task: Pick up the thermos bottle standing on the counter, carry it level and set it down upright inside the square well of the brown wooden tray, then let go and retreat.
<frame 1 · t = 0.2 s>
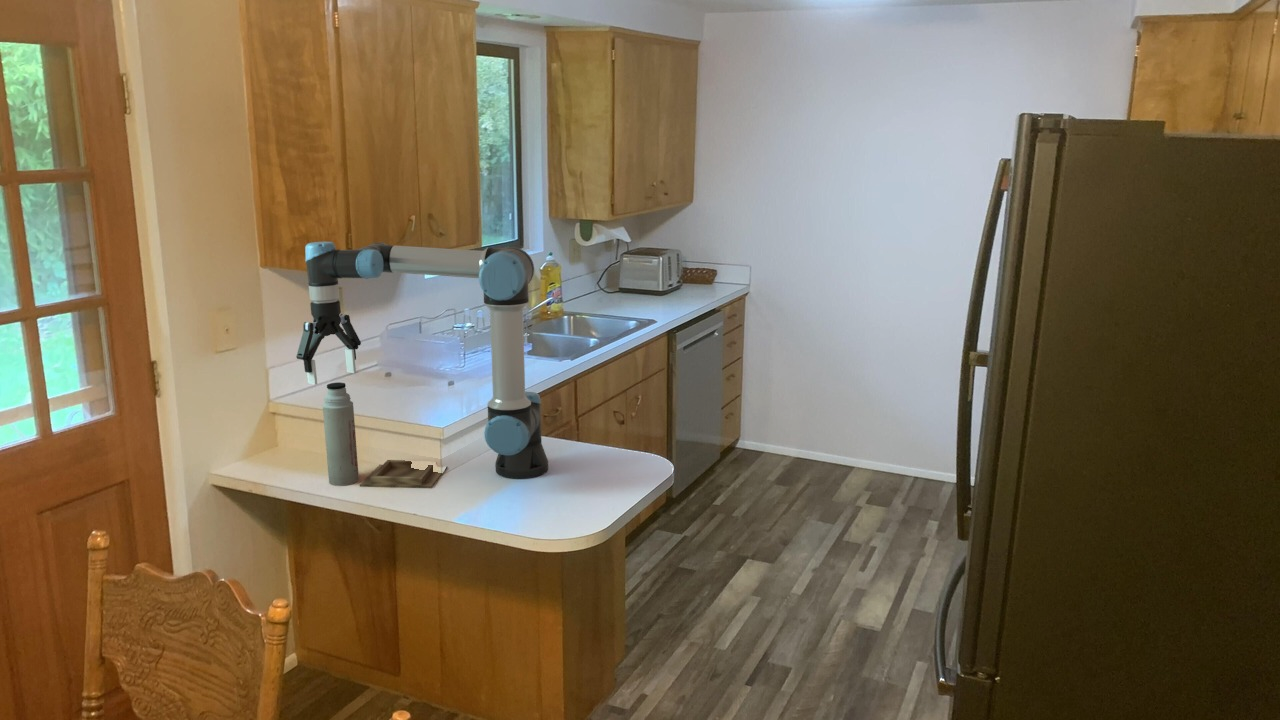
hand: (332, 378, 250), 30 cm above the table, fingers open, 13 cm apart
thermos bottle: (344, 481, 258), on the table
brown wooden tray: (404, 477, 260), on the table
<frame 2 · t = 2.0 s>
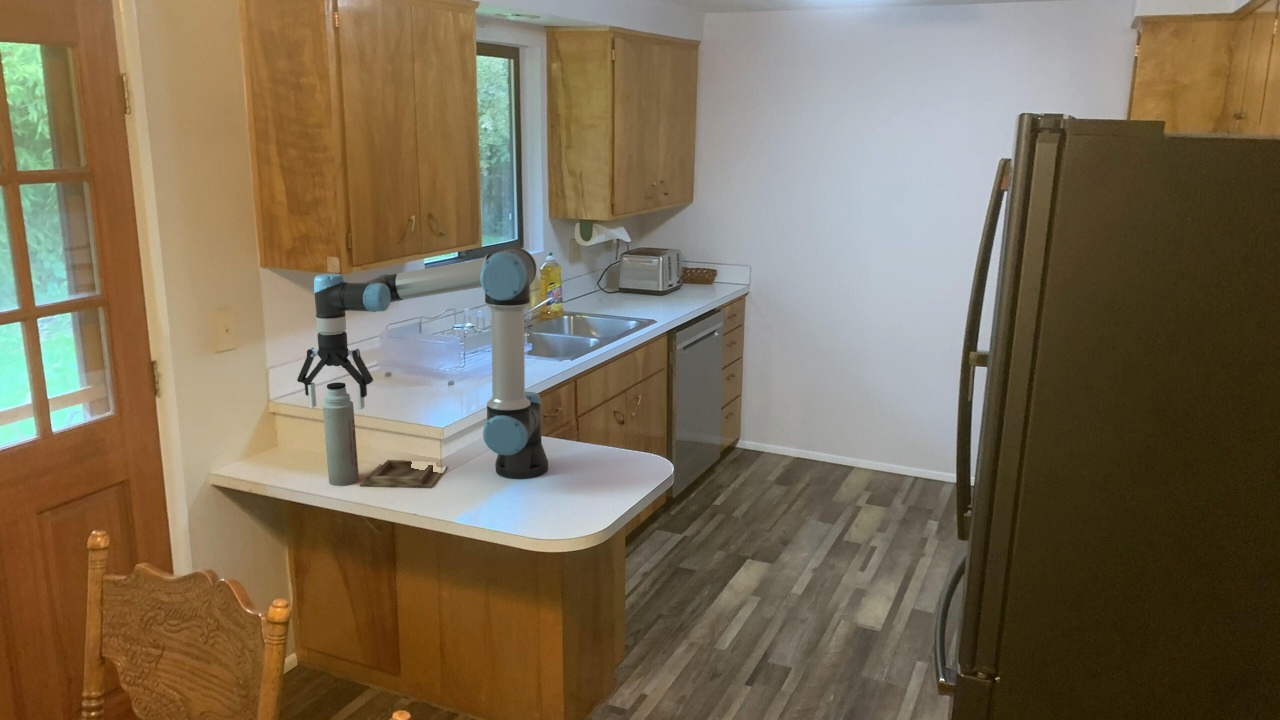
hand: (337, 407, 253), 21 cm above the table, fingers open, 13 cm apart
nothing on the table moved.
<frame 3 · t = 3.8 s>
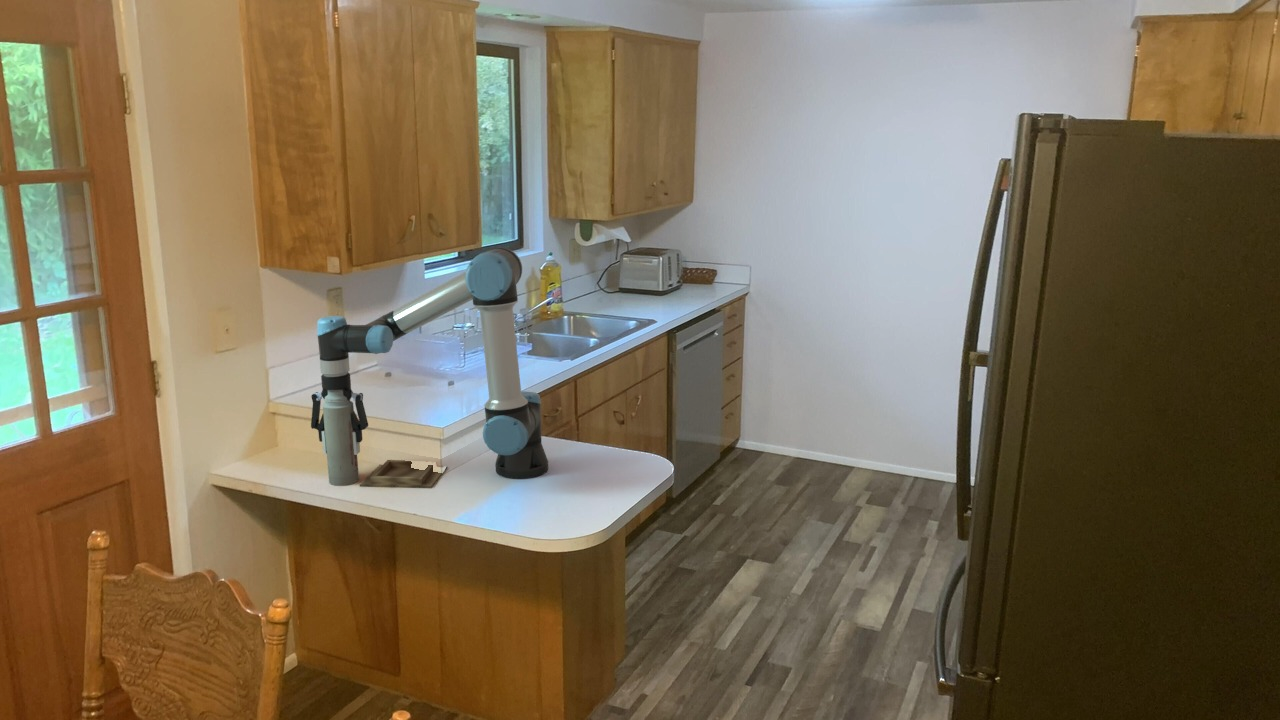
hand: (341, 452, 256), 8 cm above the table, fingers closed on thermos bottle, 8 cm apart
thermos bottle: (344, 481, 258), on the table, touching gripper
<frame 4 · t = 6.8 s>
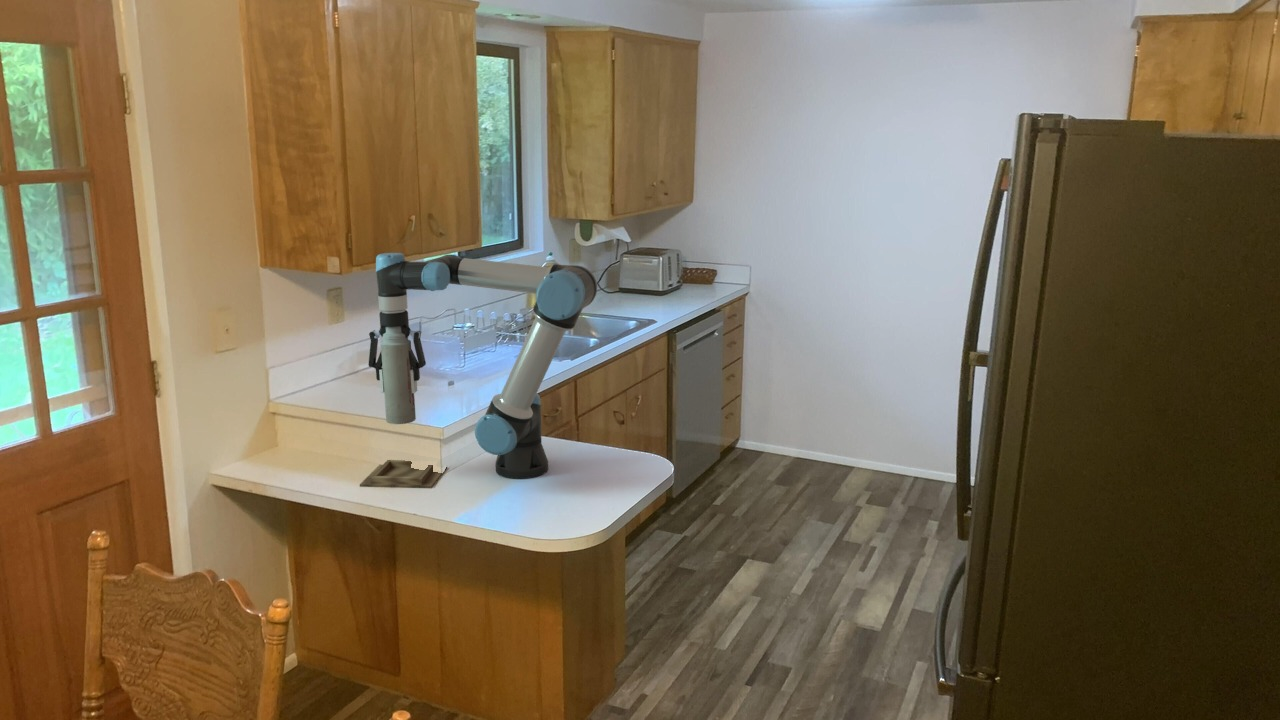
hand: (399, 391, 254), 25 cm above the table, fingers closed on thermos bottle, 8 cm apart
thermos bottle: (401, 420, 256), point 17 cm above the table, touching gripper
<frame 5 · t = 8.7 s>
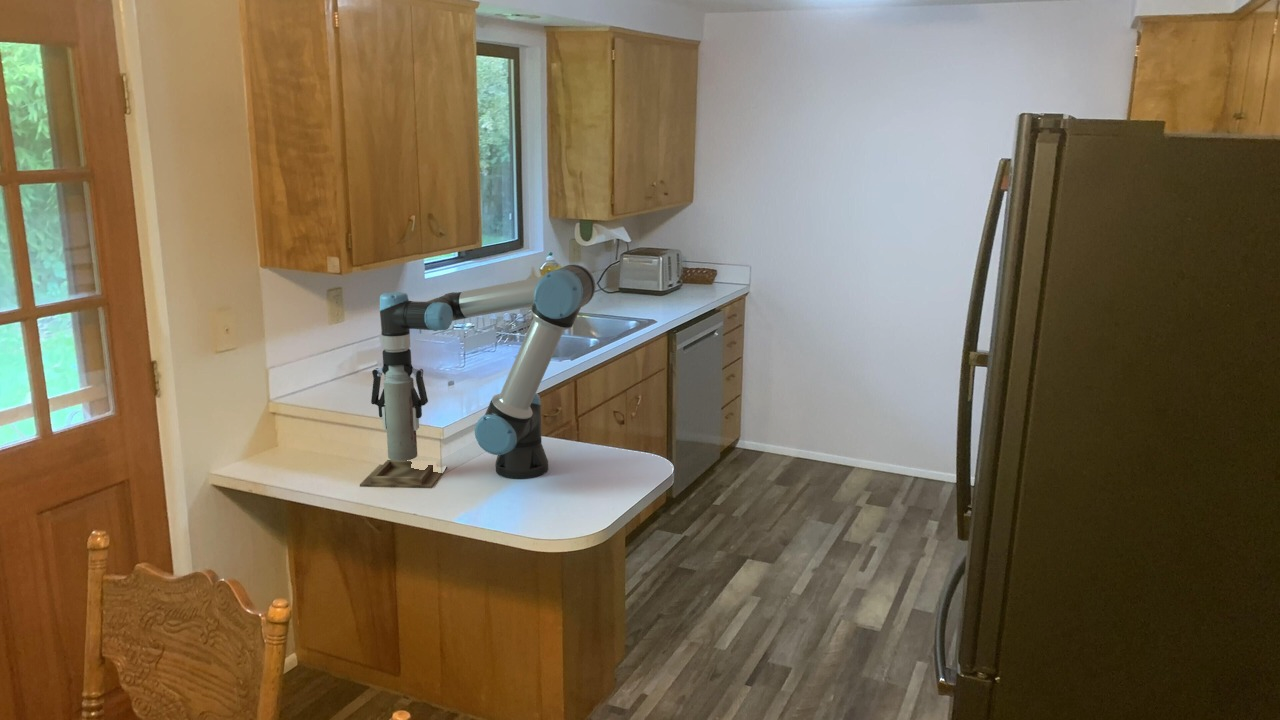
hand: (401, 428, 257), 14 cm above the table, fingers closed on thermos bottle, 8 cm apart
thermos bottle: (402, 457, 259), point 6 cm above the table, touching gripper
when the fingers open (10 cm above the table, at t = 10.0 s): thermos bottle drops 1 cm, resting on brown wooden tray.
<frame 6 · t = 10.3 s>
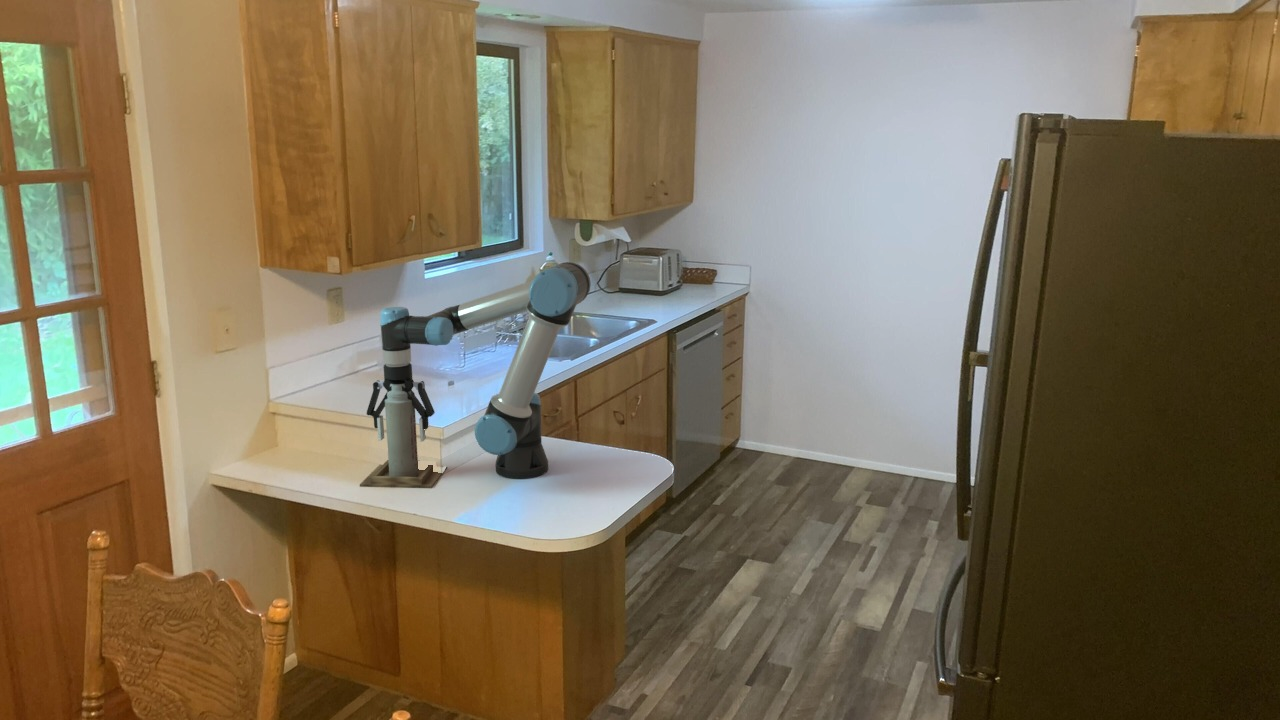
hand: (402, 439, 258), 11 cm above the table, fingers open, 11 cm apart
thermos bottle: (403, 475, 260), resting on brown wooden tray
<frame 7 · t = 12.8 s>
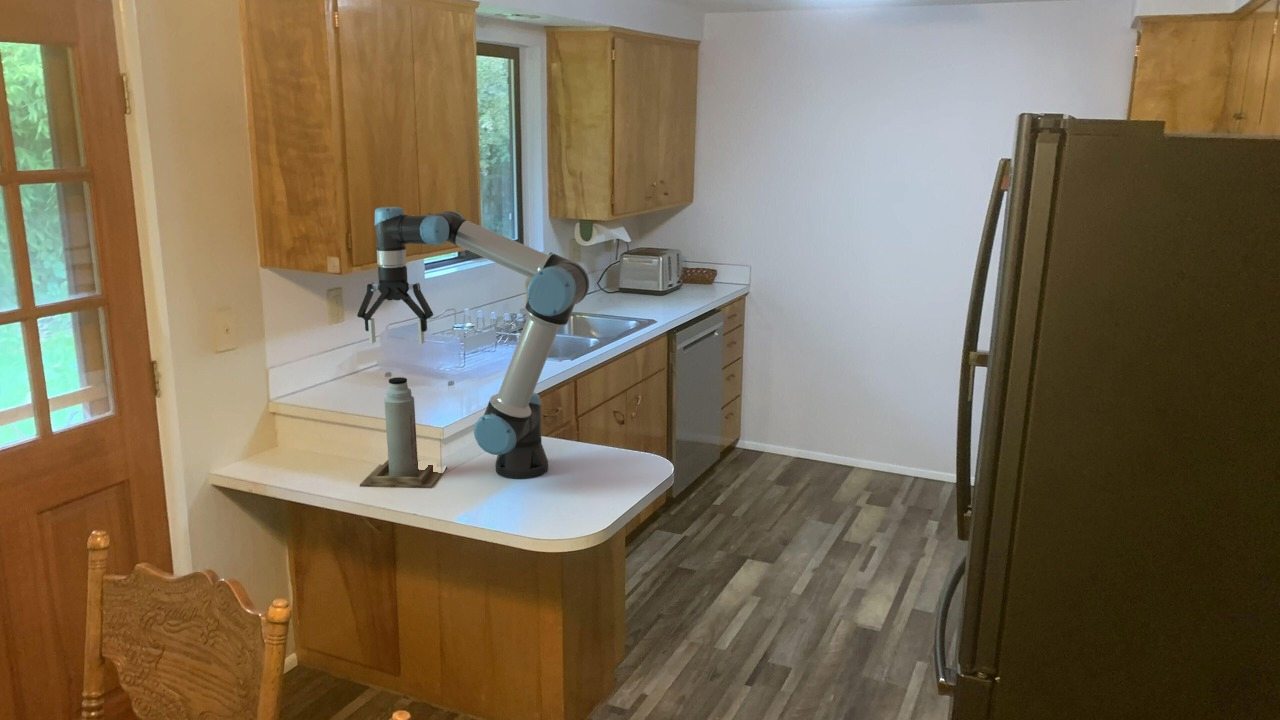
hand: (397, 343, 252), 39 cm above the table, fingers open, 13 cm apart
nothing on the table moved.
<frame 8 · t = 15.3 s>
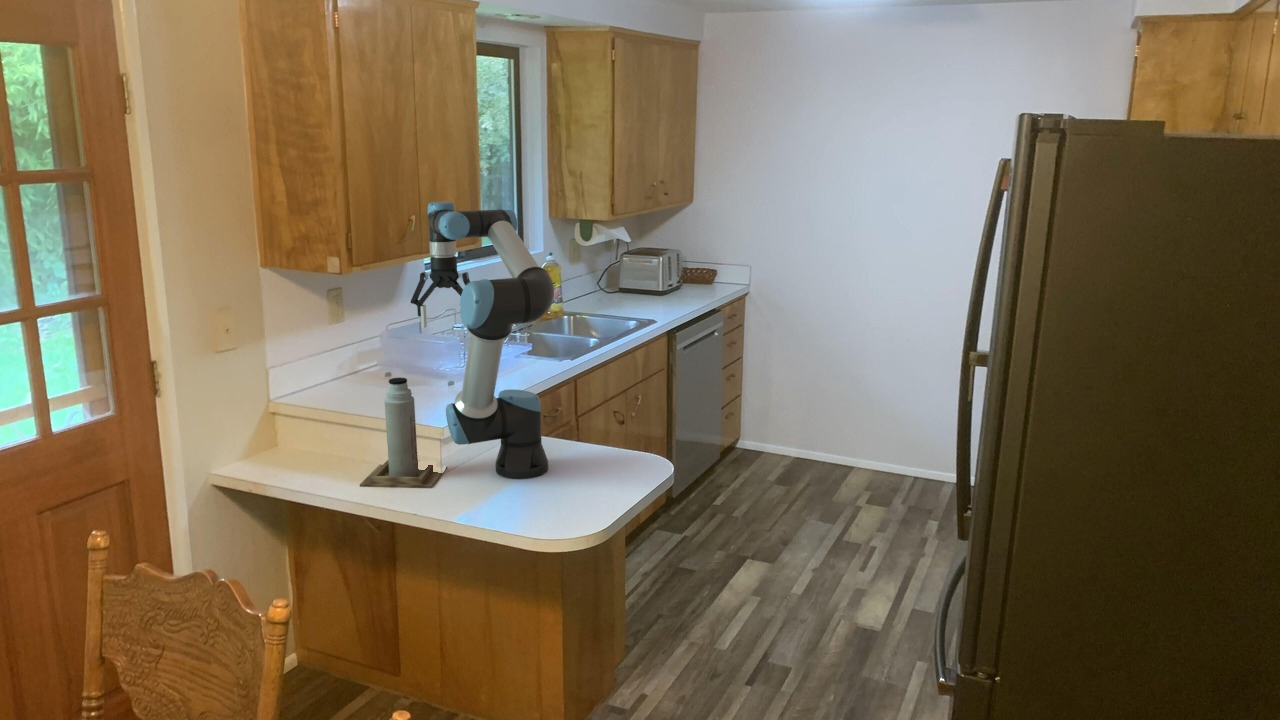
hand: (446, 327, 272), 39 cm above the table, fingers open, 13 cm apart
nothing on the table moved.
at the end: thermos bottle inside the target area on the brown wooden tray (0.2 cm from its centre), point 0.4 cm above the brown wooden tray's base; thermos bottle tilted 0°; the gripper is holding nothing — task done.
